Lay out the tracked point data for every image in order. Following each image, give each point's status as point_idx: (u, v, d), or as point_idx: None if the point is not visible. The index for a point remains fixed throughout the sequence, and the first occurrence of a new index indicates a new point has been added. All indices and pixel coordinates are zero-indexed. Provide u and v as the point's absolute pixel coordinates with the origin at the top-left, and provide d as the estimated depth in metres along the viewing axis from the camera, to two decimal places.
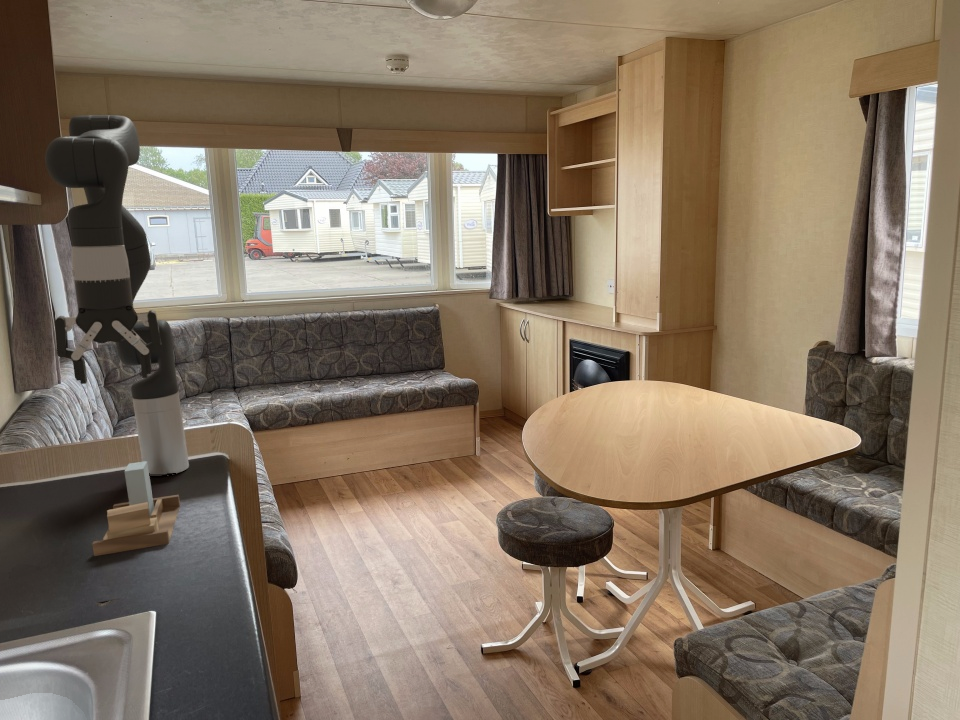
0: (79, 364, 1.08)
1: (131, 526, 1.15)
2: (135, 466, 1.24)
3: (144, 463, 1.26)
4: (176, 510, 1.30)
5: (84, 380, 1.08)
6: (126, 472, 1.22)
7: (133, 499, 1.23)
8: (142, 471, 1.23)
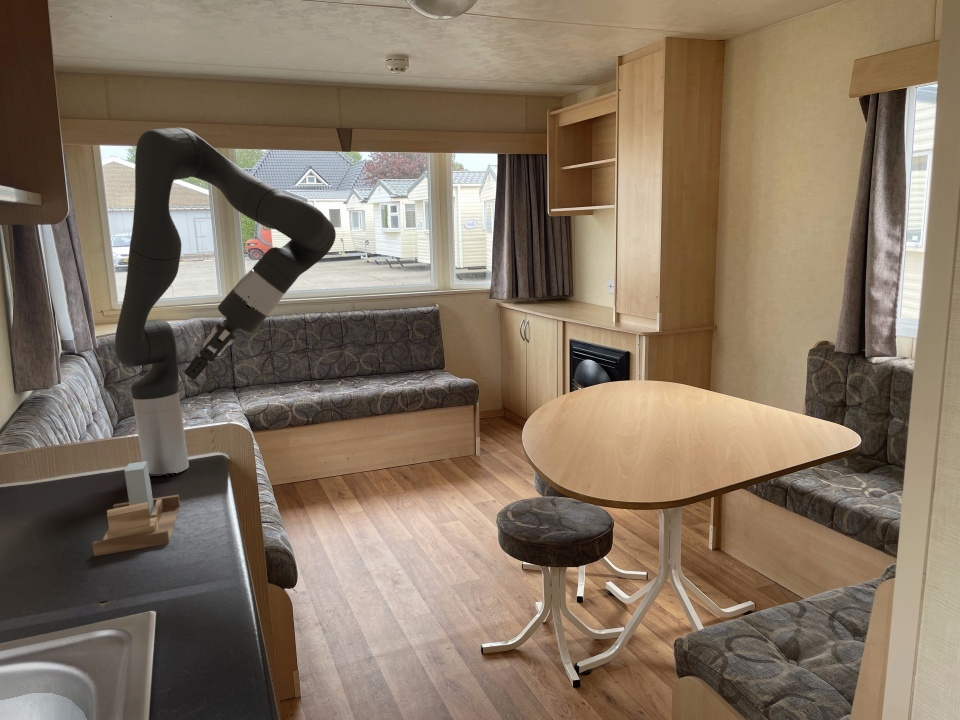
0: None
1: (131, 526, 1.15)
2: (135, 466, 1.24)
3: (144, 463, 1.26)
4: (176, 510, 1.30)
5: (196, 377, 1.21)
6: (126, 472, 1.22)
7: (133, 499, 1.23)
8: (142, 471, 1.23)
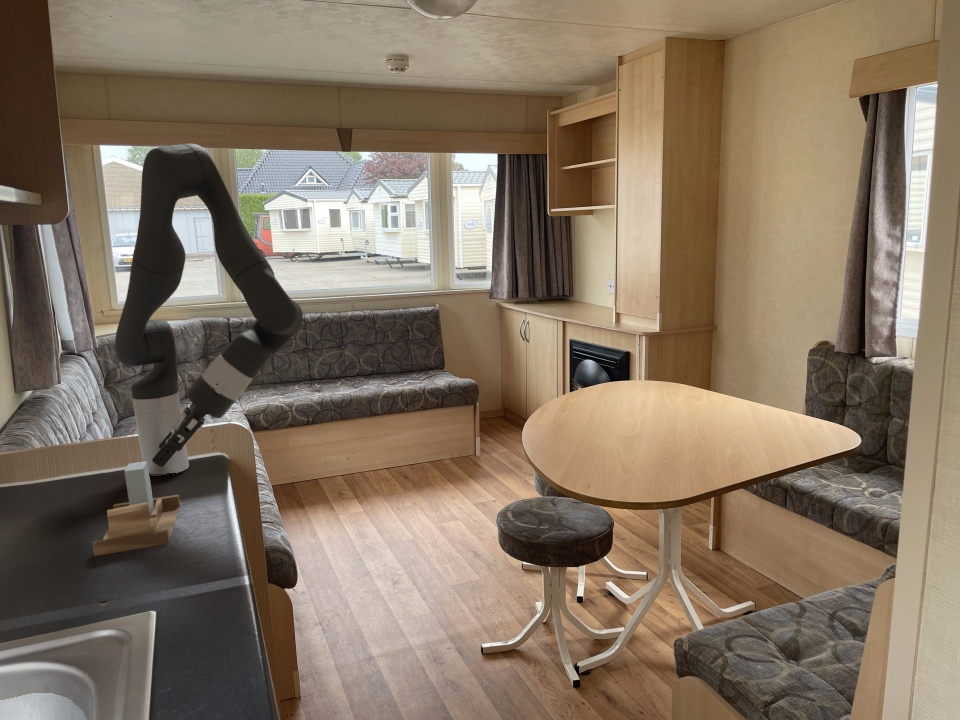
0: (174, 453, 1.22)
1: (131, 526, 1.15)
2: (135, 466, 1.24)
3: (144, 463, 1.26)
4: (176, 510, 1.30)
5: (164, 464, 1.22)
6: (126, 472, 1.22)
7: (133, 499, 1.23)
8: (142, 471, 1.23)
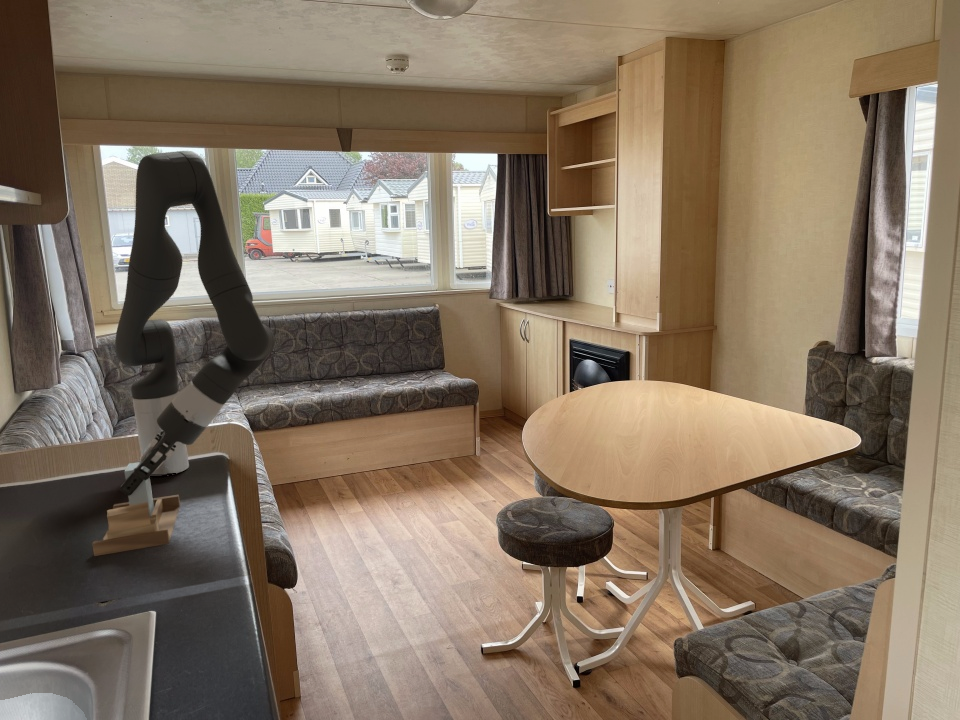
0: (141, 482, 1.23)
1: (131, 526, 1.15)
2: (135, 466, 1.24)
3: None
4: (176, 510, 1.30)
5: (132, 492, 1.23)
6: (126, 472, 1.22)
7: (133, 499, 1.23)
8: None
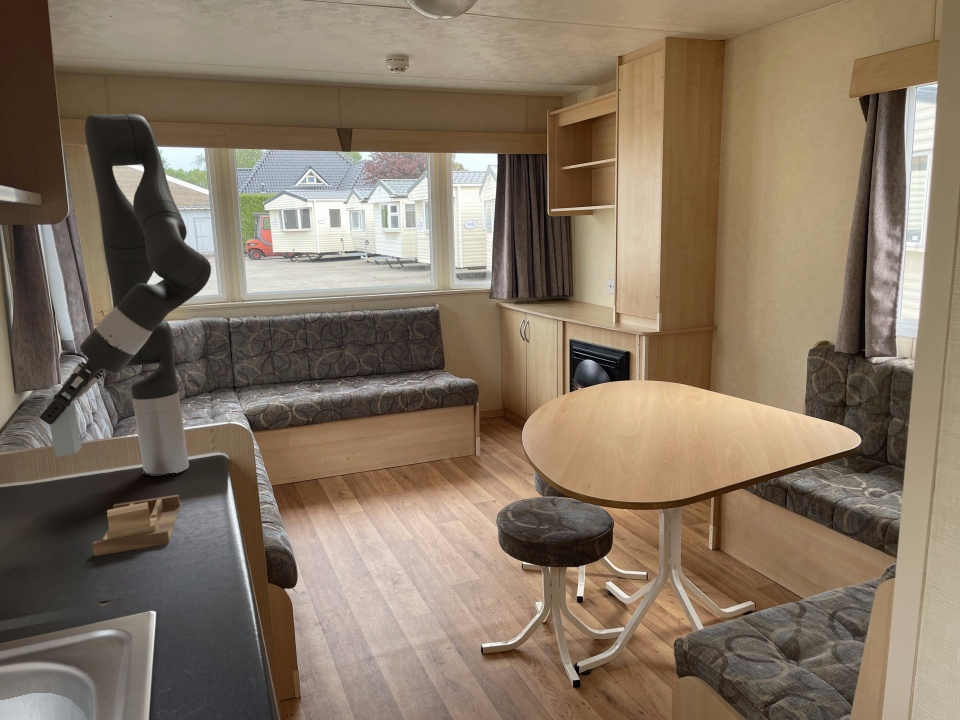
0: None
1: (131, 526, 1.15)
2: None
3: None
4: (176, 510, 1.30)
5: (54, 421, 1.18)
6: (47, 400, 1.17)
7: (55, 429, 1.18)
8: None
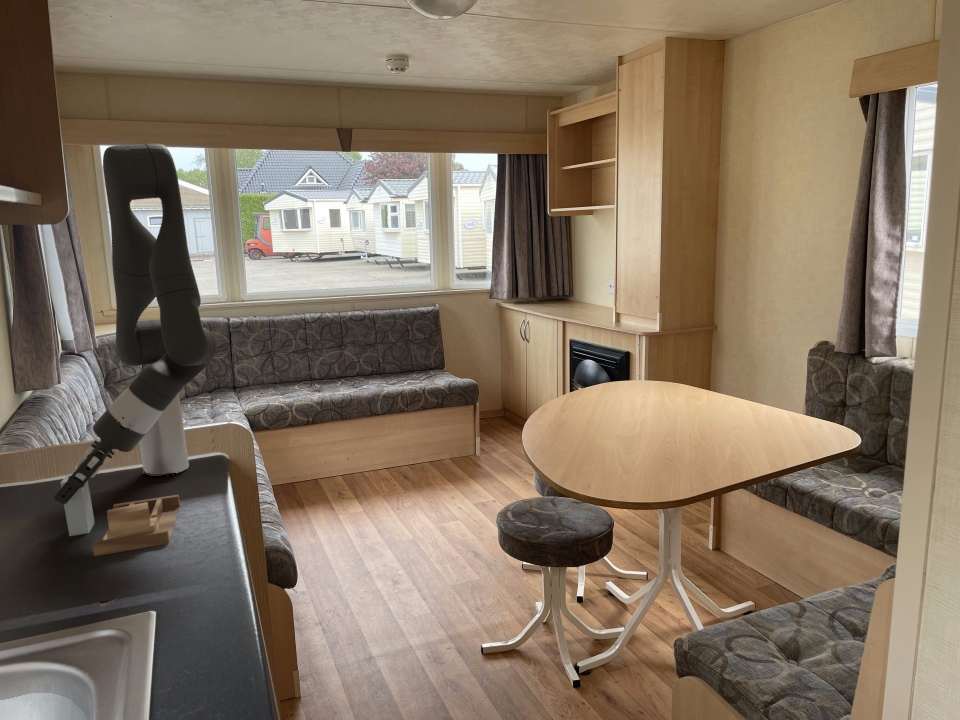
0: None
1: (131, 526, 1.15)
2: None
3: (82, 474, 1.23)
4: (176, 510, 1.30)
5: (67, 501, 1.19)
6: (62, 484, 1.20)
7: (69, 512, 1.21)
8: None
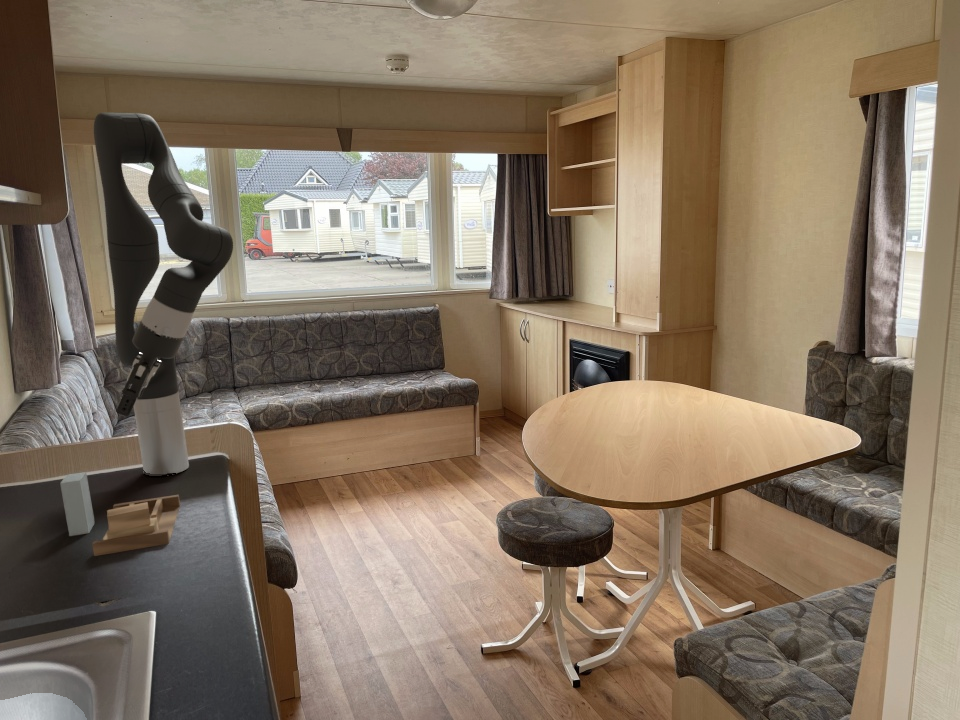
0: (135, 401, 1.23)
1: (131, 526, 1.15)
2: (73, 478, 1.22)
3: (82, 474, 1.23)
4: (176, 510, 1.30)
5: (130, 412, 1.24)
6: (62, 484, 1.20)
7: (69, 512, 1.21)
8: (79, 483, 1.20)
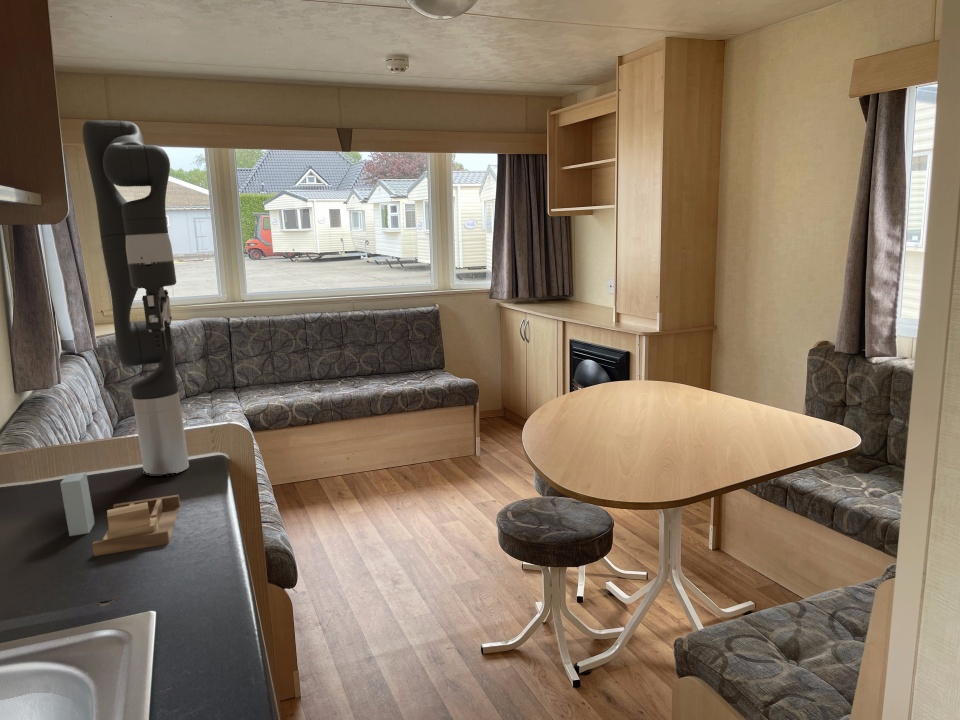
0: (164, 334, 1.26)
1: (131, 526, 1.15)
2: (73, 478, 1.22)
3: (82, 474, 1.23)
4: (176, 510, 1.30)
5: (166, 348, 1.27)
6: (62, 484, 1.20)
7: (69, 512, 1.21)
8: (79, 483, 1.20)
